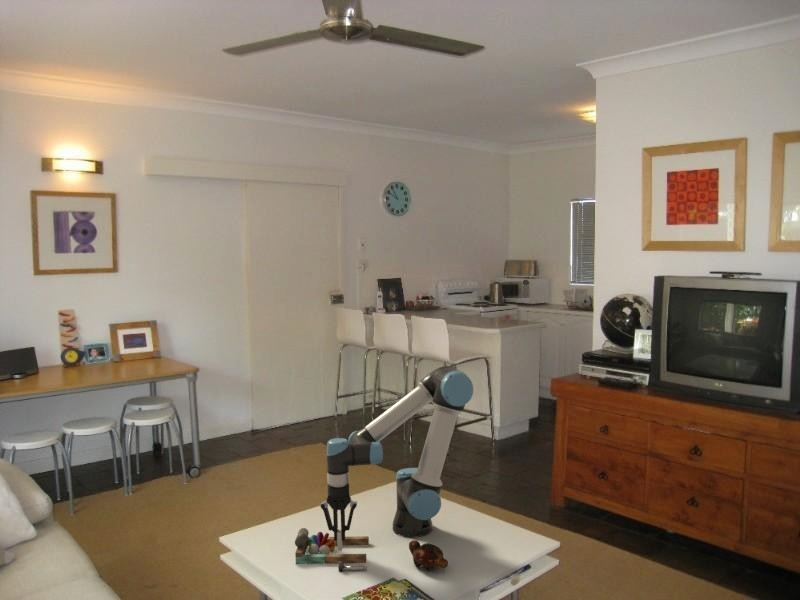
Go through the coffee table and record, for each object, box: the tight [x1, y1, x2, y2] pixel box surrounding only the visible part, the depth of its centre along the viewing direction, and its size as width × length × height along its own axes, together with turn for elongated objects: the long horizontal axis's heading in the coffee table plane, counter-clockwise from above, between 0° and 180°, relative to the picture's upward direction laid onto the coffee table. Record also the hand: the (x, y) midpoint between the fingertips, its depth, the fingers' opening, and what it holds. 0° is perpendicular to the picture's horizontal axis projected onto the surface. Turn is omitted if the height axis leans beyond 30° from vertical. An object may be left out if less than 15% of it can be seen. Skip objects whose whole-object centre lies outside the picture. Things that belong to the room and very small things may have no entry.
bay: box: [294, 527, 370, 565], centre depth 235 cm, size 25×16×8 cm, turn 89°
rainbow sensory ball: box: [307, 531, 337, 554], centre depth 236 cm, size 8×10×7 cm
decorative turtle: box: [408, 539, 449, 572], centre depth 224 cm, size 10×15×8 cm, turn 60°
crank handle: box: [337, 561, 369, 573], centre depth 222 cm, size 10×2×3 cm, turn 89°
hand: (340, 548), depth 235 cm, fingers closed
